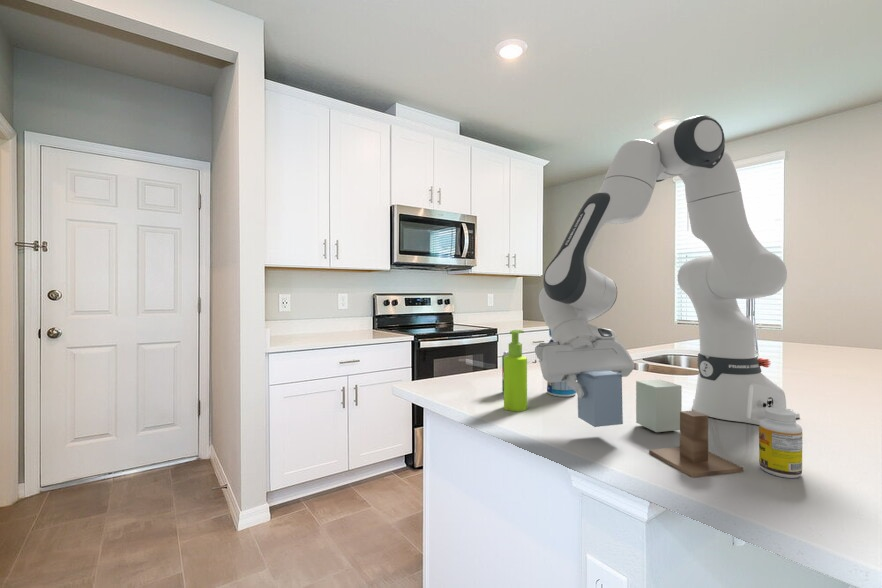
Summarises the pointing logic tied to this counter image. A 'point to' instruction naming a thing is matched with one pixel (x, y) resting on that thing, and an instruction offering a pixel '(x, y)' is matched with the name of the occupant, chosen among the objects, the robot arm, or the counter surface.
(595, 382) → the pale blue tall block
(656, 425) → the pale green block
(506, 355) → the soda can
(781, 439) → the supplement bottle
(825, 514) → the counter surface
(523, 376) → the soap dispenser
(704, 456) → the post
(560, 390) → the beverage bottle
